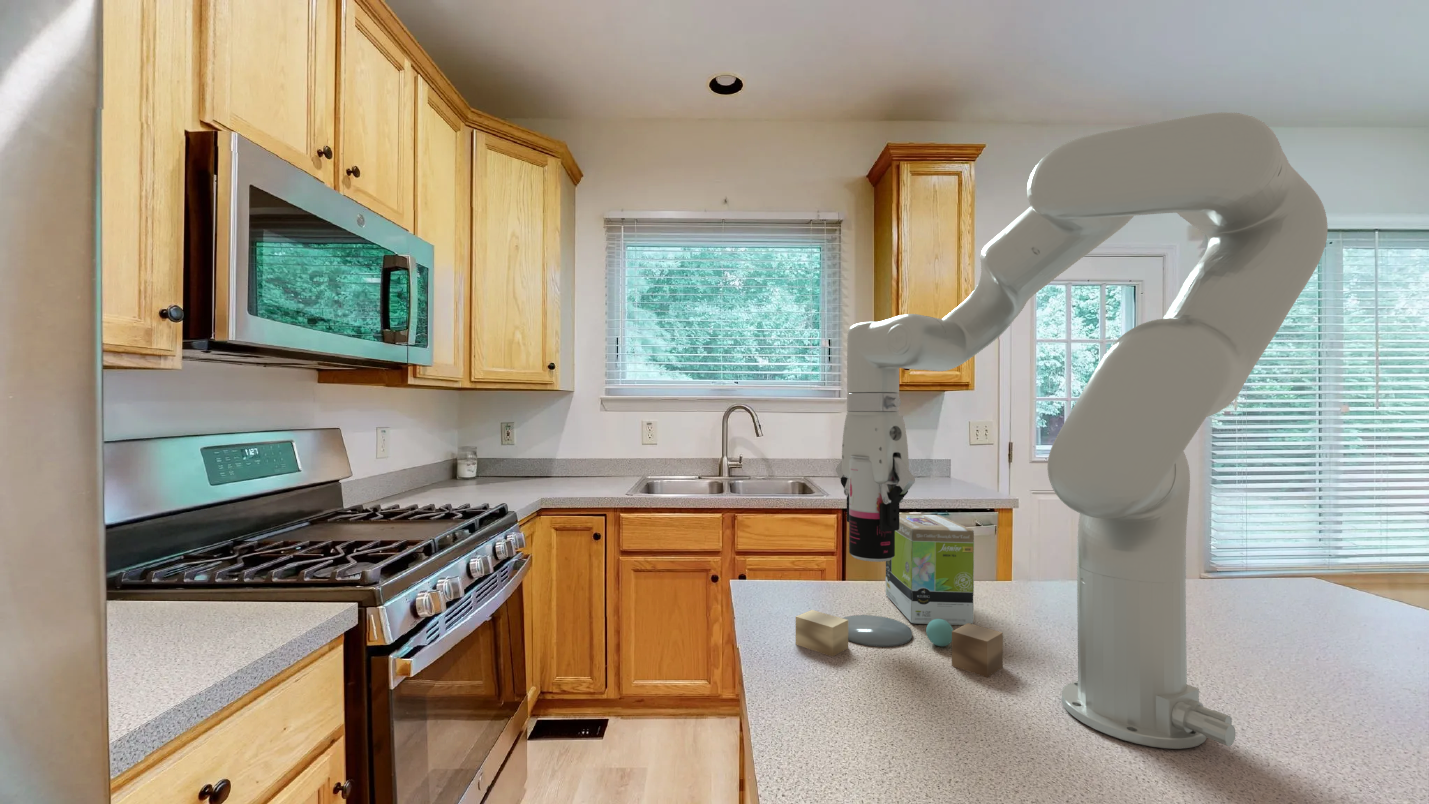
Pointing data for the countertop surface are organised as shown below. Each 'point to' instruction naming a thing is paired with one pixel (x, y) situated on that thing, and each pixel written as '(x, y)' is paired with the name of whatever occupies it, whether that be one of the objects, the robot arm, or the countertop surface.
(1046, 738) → the countertop surface
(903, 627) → the grey round disc
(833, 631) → the oak block
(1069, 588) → the countertop surface
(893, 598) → the tea box
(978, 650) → the walnut cube
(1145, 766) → the countertop surface
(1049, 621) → the countertop surface
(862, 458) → the beverage can
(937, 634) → the teal rubber ball
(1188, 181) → the robot arm
